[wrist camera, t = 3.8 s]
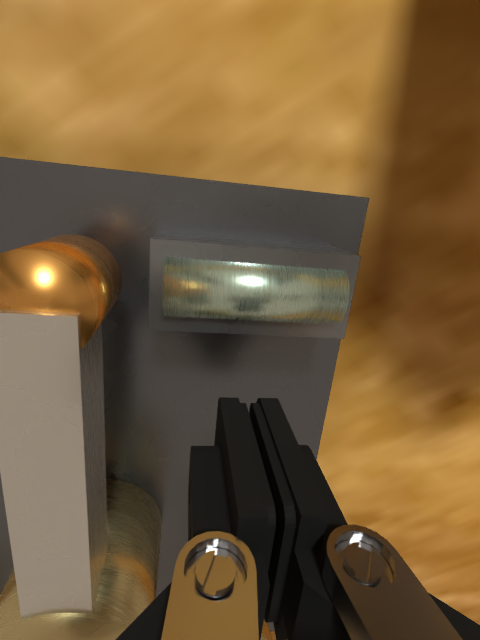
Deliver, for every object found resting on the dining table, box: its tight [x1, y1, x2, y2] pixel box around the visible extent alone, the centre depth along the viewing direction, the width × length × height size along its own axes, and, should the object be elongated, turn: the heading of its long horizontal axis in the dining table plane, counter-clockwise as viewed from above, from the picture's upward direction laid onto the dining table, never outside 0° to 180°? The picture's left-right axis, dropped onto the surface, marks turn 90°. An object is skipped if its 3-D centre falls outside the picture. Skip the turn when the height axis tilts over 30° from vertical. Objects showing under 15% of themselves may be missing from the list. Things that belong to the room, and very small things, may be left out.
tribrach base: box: [0, 157, 369, 640], centre depth 14 cm, size 18×22×5 cm
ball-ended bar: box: [0, 234, 162, 640], centre depth 11 cm, size 15×5×5 cm, turn 175°
